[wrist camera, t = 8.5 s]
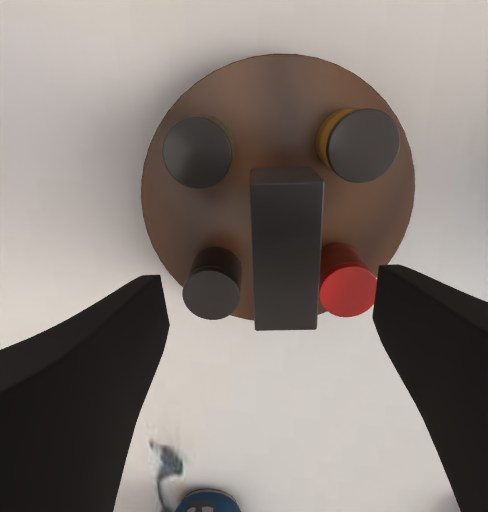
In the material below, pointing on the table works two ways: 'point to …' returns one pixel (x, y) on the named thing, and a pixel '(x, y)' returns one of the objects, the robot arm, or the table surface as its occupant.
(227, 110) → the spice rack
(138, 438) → the table surface
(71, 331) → the robot arm
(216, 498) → the soda can
